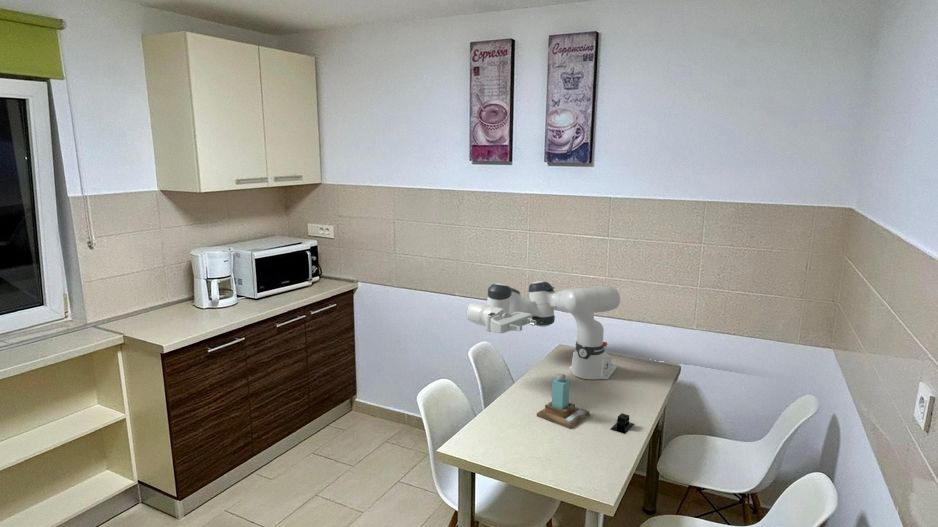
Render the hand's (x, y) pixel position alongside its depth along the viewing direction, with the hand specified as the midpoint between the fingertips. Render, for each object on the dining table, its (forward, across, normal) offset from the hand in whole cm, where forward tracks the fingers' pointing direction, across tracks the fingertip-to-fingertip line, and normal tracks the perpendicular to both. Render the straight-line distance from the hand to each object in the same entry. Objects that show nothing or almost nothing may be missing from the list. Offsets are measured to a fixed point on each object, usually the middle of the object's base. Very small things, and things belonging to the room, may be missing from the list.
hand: (528, 326), depth 206 cm
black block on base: (+38, -5, -31) cm, 49 cm away
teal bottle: (+17, +2, -29) cm, 33 cm away
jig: (+18, +2, -30) cm, 35 cm away
